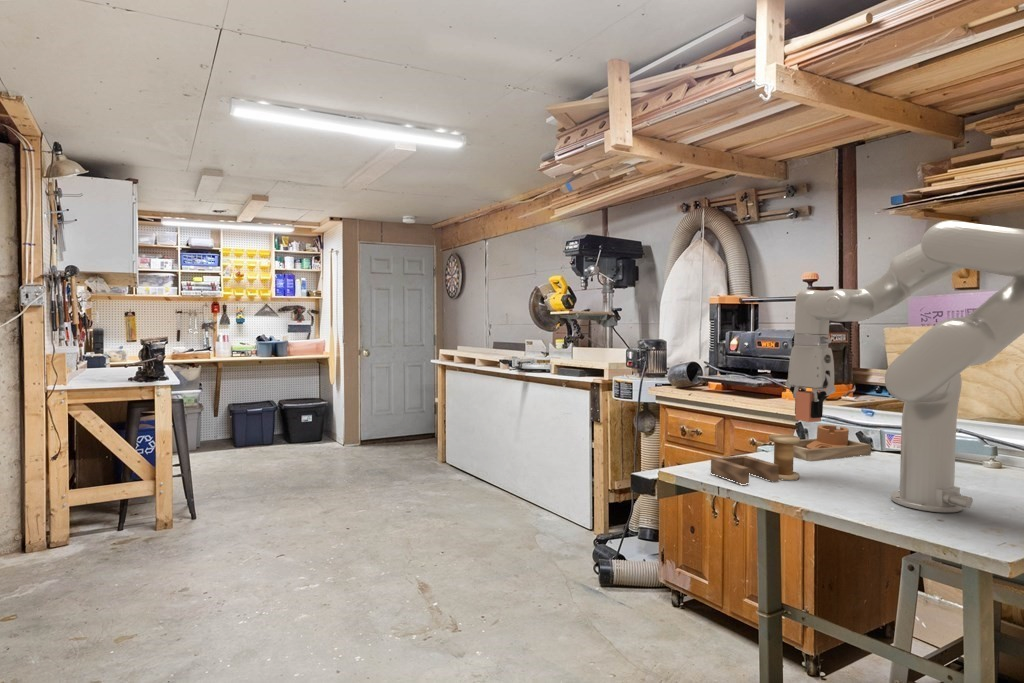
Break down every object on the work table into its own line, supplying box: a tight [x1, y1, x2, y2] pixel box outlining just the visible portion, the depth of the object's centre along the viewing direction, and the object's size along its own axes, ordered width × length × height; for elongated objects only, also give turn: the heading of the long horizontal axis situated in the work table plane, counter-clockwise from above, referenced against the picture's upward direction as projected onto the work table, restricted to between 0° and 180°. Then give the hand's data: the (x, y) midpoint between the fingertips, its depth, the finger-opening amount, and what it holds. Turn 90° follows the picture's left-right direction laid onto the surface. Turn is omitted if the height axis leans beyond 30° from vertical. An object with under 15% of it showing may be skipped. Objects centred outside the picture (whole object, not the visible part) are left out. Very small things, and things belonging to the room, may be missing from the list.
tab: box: [794, 390, 822, 423], centre depth 150 cm, size 4×4×7 cm
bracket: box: [806, 424, 850, 449], centre depth 180 cm, size 18×8×7 cm, turn 138°
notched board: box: [710, 455, 780, 484], centre depth 150 cm, size 11×11×4 cm
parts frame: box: [793, 438, 872, 462], centre depth 179 cm, size 12×23×3 cm, turn 111°
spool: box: [768, 433, 801, 481], centre depth 151 cm, size 7×7×10 cm
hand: (808, 415), depth 150 cm, fingers closed on tab, 4 cm apart
